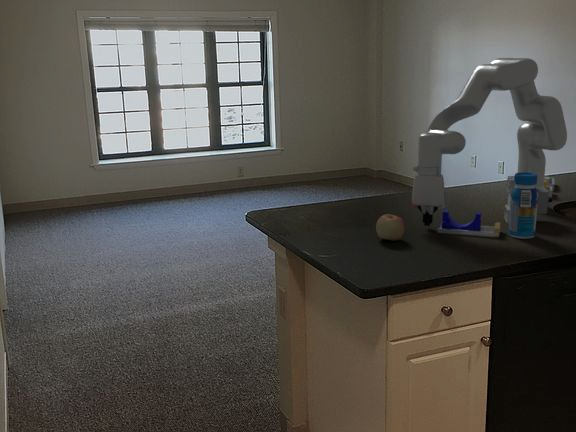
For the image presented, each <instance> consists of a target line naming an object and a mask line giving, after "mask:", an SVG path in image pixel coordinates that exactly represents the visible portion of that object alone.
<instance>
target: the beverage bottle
mask: <svg viewBox="0 0 576 432" xmlns="http://www.w3.org/2000/svg"><path fill="white" fill-rule="evenodd" d="M513 176H514V184H515V185H516V186H515V187H514V189H513V190H512V192H511V197H512V199H511V200H510V216H509V223H508V230H507V231H508V232H507V234H508V236H509V237H512V238H514V239H519V240H520V239H522V240H527V239H533V238H534V237H536V227H537V226H536V225H537V216H538V215H537V214H538V213H537V208H538V201H537V198H538V192H537V190H536V188H535V187H534V186H536V184H537V174H535V173H528V172H520V173H517V172H516V173H514V175H513Z"/></svg>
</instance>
